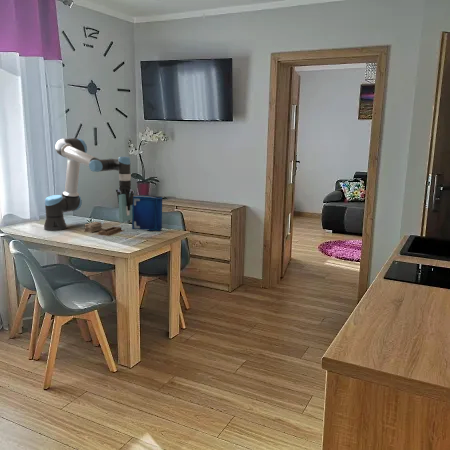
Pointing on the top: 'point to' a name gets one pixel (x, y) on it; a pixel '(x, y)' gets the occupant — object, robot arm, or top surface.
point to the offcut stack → (93, 227)
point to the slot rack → (110, 231)
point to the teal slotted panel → (124, 209)
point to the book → (147, 213)
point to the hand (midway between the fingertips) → (125, 214)
